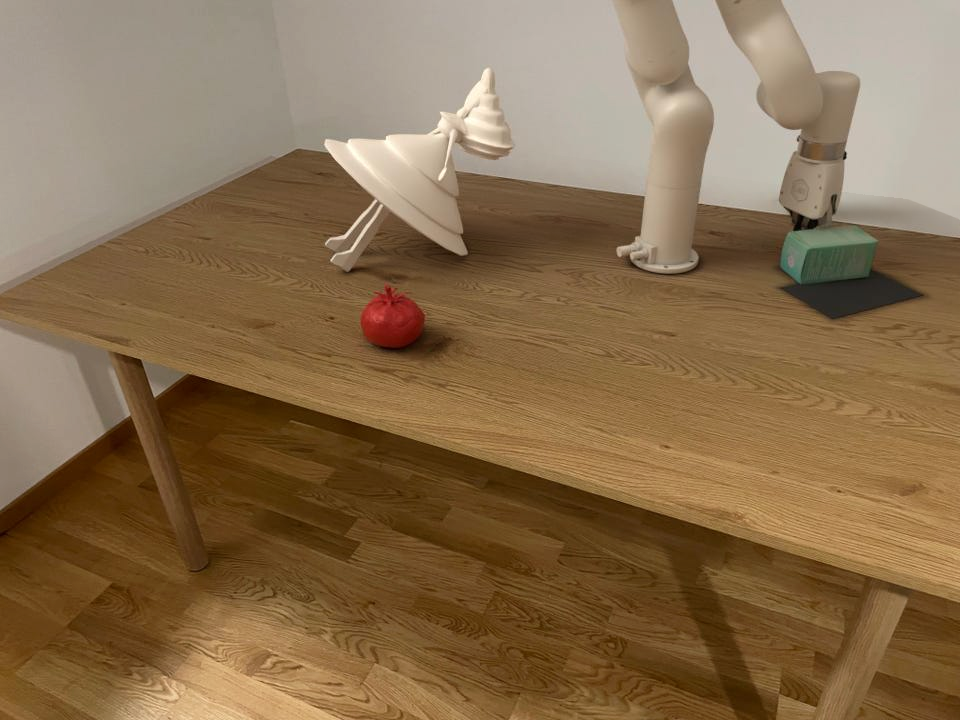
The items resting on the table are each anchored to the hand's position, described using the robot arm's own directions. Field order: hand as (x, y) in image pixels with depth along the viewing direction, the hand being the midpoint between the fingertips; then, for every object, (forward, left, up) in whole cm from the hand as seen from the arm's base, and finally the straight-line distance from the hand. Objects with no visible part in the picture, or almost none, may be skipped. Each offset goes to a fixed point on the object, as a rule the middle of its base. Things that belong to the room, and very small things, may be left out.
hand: (799, 246), depth 134 cm
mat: (-1, -14, -3) cm, 14 cm away
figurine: (-64, +33, -3) cm, 72 cm away
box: (0, -7, -3) cm, 7 cm away
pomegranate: (-78, +3, -3) cm, 78 cm away
